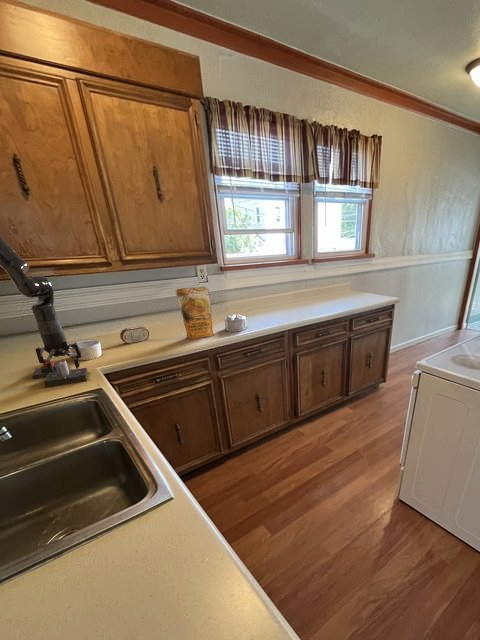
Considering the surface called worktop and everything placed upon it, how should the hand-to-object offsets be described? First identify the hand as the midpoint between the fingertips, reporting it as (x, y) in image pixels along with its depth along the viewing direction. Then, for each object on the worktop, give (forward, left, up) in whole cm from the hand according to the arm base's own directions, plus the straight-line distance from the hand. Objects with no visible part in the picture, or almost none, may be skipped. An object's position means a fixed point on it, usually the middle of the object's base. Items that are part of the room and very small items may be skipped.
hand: (65, 369), depth 133 cm
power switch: (-7, +12, -5) cm, 15 cm away
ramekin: (+6, +30, -5) cm, 31 cm away
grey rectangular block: (0, 0, -2) cm, 2 cm away
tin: (+29, +47, -5) cm, 55 cm away
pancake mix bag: (+63, +41, -5) cm, 75 cm away
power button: (-7, +12, -1) cm, 14 cm away
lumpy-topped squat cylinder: (+88, +48, -5) cm, 100 cm away
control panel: (0, 0, -5) cm, 5 cm away
